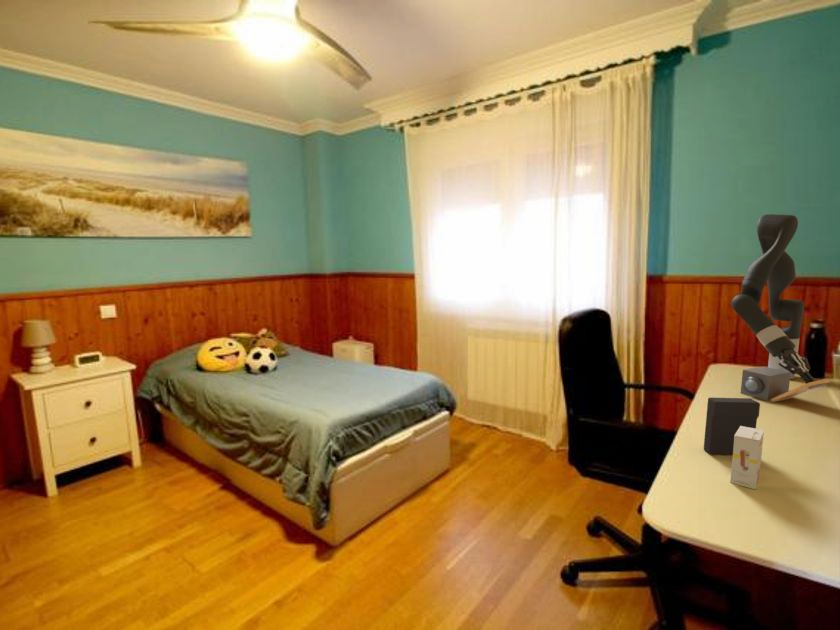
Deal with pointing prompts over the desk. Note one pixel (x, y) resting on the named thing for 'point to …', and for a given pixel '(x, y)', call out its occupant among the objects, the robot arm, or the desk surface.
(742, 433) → the ink box
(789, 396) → the side door
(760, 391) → the camera housing
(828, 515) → the desk surface
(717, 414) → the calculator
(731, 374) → the desk surface
